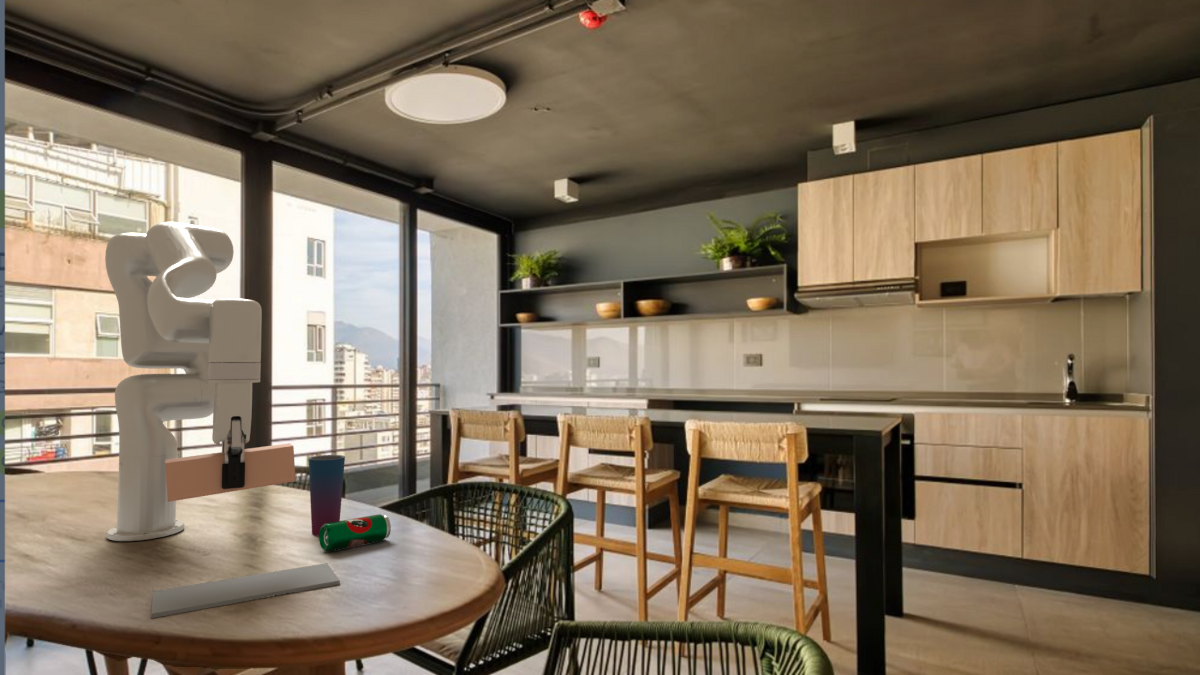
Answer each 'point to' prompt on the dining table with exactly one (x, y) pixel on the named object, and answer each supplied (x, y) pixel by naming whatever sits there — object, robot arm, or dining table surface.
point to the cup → (325, 489)
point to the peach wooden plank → (206, 471)
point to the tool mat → (241, 589)
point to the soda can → (354, 532)
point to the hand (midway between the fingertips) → (232, 484)
